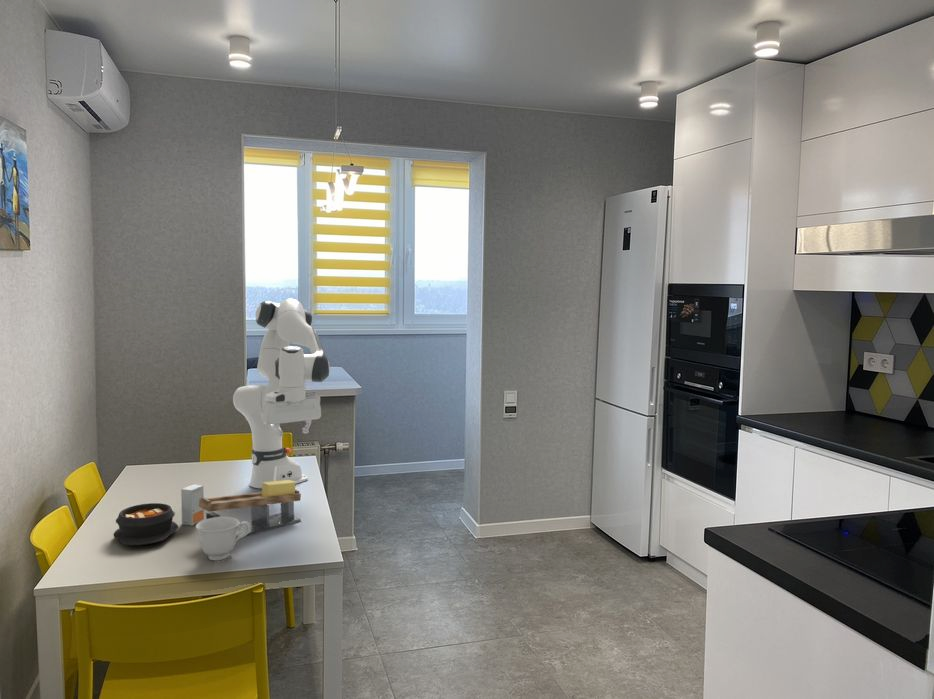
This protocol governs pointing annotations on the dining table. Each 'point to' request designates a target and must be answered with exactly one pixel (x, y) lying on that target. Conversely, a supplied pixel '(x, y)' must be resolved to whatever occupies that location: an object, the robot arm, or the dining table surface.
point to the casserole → (145, 524)
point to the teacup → (219, 535)
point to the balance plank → (245, 501)
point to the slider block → (278, 488)
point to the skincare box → (192, 504)
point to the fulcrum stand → (265, 518)
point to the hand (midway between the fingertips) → (292, 434)
